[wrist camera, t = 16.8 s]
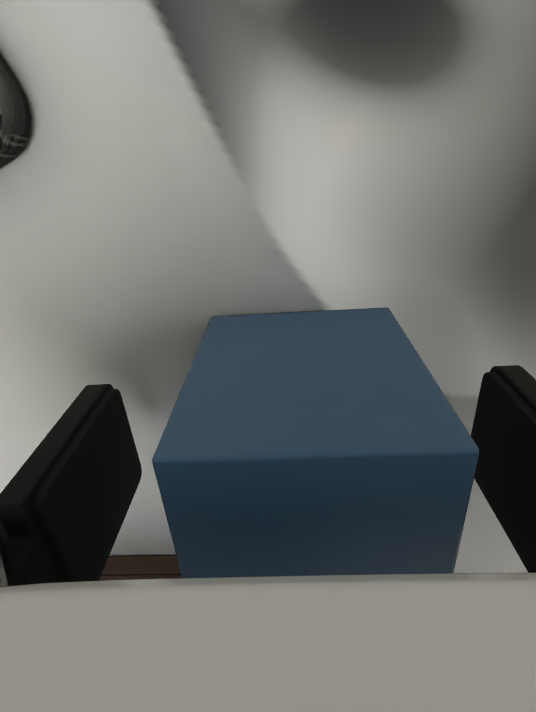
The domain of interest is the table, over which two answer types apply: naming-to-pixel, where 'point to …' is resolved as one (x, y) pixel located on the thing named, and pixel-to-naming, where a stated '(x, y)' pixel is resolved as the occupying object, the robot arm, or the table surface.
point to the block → (313, 452)
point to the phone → (12, 116)
